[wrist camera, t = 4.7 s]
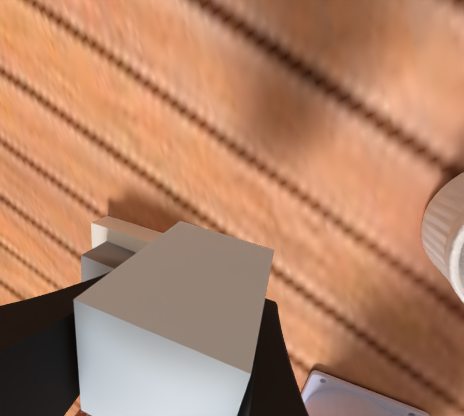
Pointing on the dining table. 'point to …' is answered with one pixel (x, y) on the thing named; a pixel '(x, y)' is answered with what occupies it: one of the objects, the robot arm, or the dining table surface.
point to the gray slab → (103, 260)
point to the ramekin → (446, 232)
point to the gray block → (173, 327)
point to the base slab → (121, 234)
